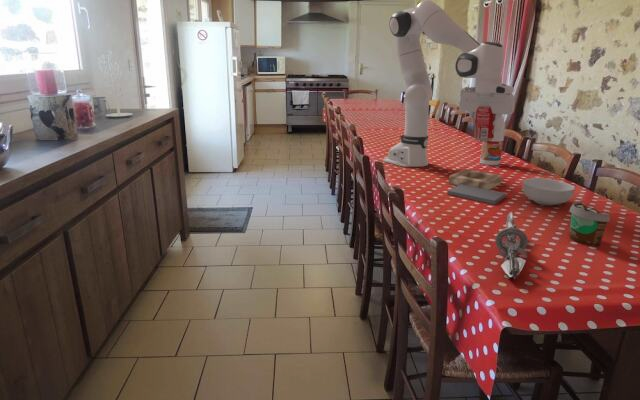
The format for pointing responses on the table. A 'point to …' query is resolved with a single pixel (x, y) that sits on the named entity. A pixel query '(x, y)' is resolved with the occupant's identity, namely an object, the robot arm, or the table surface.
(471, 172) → the wooden holder
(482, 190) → the charcoal board
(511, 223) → the spaceship
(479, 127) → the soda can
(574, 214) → the food container
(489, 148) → the fruit juice
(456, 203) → the table surface
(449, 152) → the table surface
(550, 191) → the cereal bowl
